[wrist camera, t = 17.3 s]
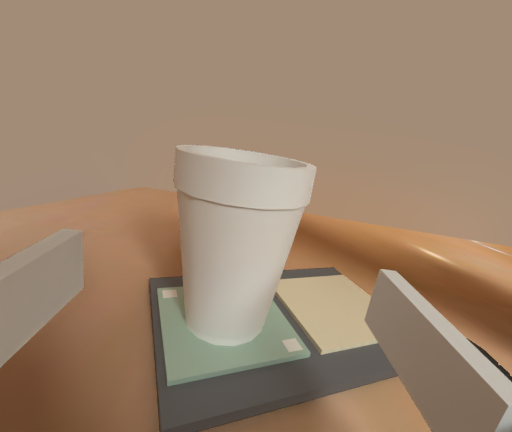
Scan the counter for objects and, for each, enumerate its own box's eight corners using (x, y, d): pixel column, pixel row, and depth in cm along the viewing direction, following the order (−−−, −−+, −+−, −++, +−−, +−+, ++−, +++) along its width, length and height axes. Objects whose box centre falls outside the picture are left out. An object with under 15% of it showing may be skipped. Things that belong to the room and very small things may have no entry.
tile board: (331, 272, 36) (334, 264, 36) (441, 363, 23) (446, 351, 23) (149, 285, 28) (150, 274, 27) (160, 441, 15) (161, 424, 14)
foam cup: (302, 355, 20) (345, 175, 16) (166, 373, 17) (182, 157, 13) (259, 283, 29) (282, 154, 25) (164, 287, 26) (173, 140, 22)
